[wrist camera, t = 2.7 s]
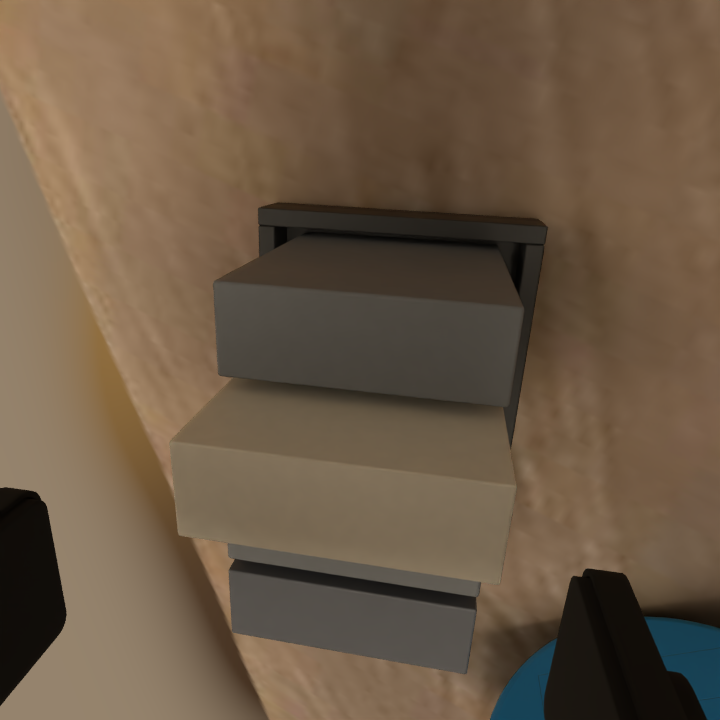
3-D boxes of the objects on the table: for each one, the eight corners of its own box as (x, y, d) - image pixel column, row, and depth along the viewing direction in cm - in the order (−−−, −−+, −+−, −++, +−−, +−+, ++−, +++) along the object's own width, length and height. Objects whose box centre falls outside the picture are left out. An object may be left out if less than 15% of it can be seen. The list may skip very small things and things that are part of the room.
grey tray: (276, 202, 21) (257, 207, 19) (539, 218, 19) (548, 226, 17) (279, 493, 26) (265, 522, 24) (490, 523, 24) (493, 555, 22)
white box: (306, 303, 21) (168, 441, 11) (487, 319, 20) (517, 486, 10) (305, 360, 22) (177, 536, 12) (480, 378, 21) (499, 585, 11)
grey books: (306, 231, 20) (210, 280, 12) (498, 244, 19) (525, 307, 11) (304, 477, 24) (231, 633, 16) (463, 499, 23) (466, 675, 15)
